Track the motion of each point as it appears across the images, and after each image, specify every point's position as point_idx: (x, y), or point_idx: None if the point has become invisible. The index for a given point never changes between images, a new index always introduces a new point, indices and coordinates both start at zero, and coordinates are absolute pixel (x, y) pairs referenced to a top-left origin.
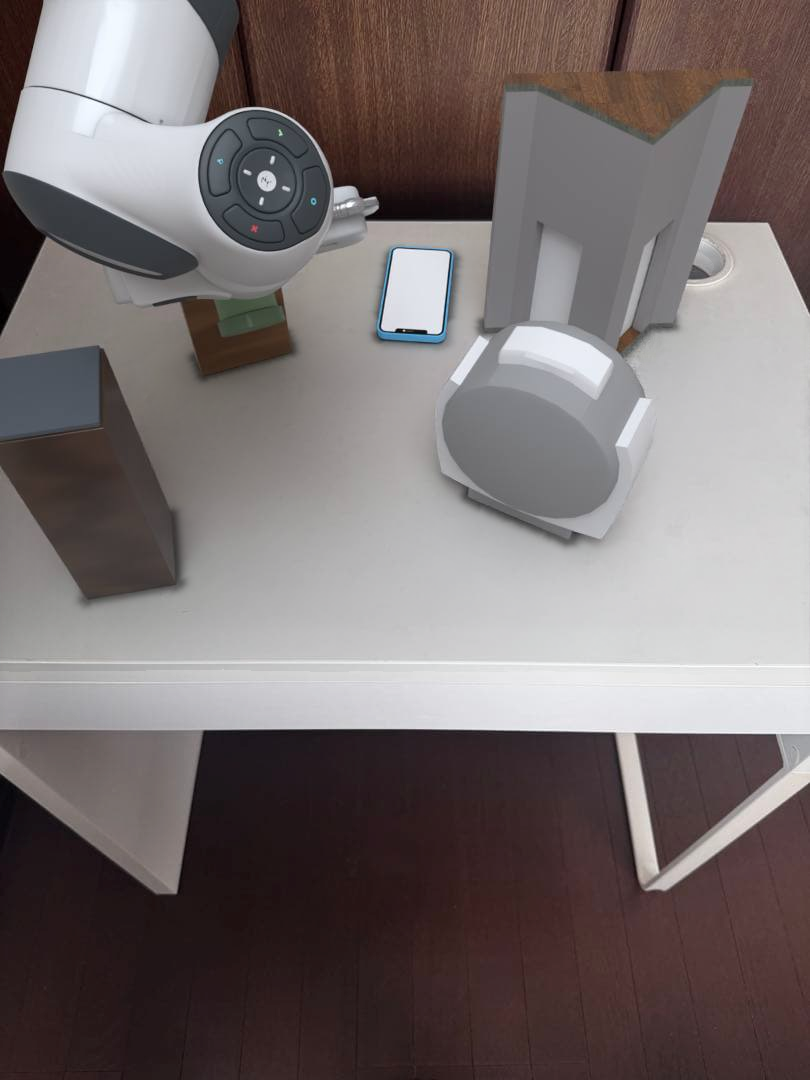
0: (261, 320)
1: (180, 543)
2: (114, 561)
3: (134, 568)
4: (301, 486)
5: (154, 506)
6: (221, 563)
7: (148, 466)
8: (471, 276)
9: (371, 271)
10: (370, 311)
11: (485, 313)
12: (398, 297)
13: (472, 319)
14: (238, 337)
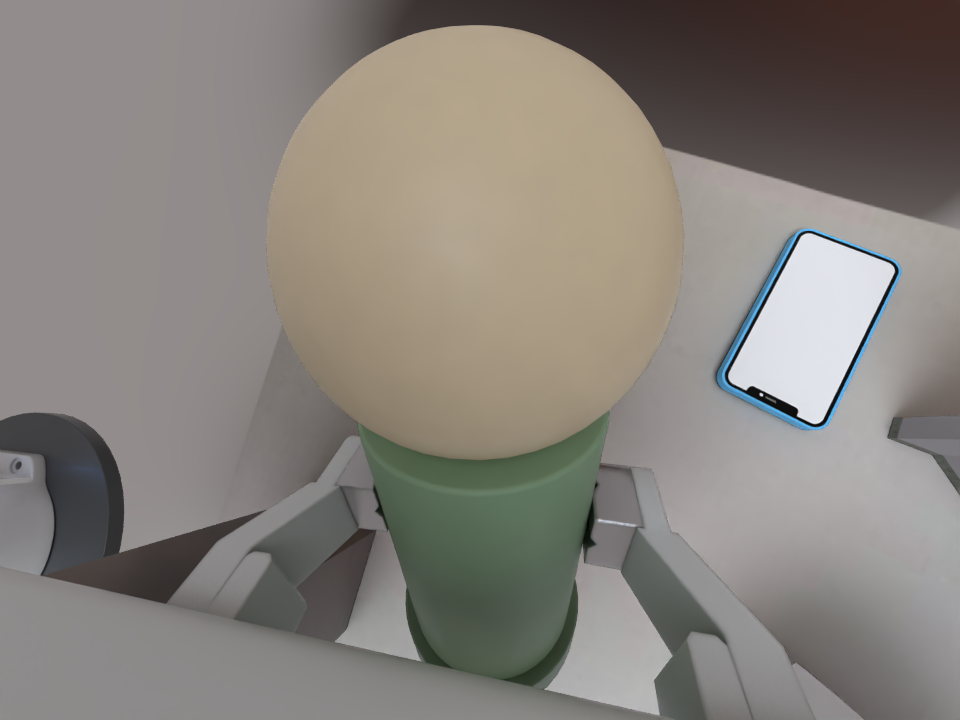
0: None
1: (370, 575)
2: None
3: None
4: None
5: (301, 634)
6: (398, 630)
7: (301, 593)
8: (909, 320)
9: (749, 257)
10: (720, 327)
11: (925, 434)
12: (776, 327)
13: (876, 404)
14: None
